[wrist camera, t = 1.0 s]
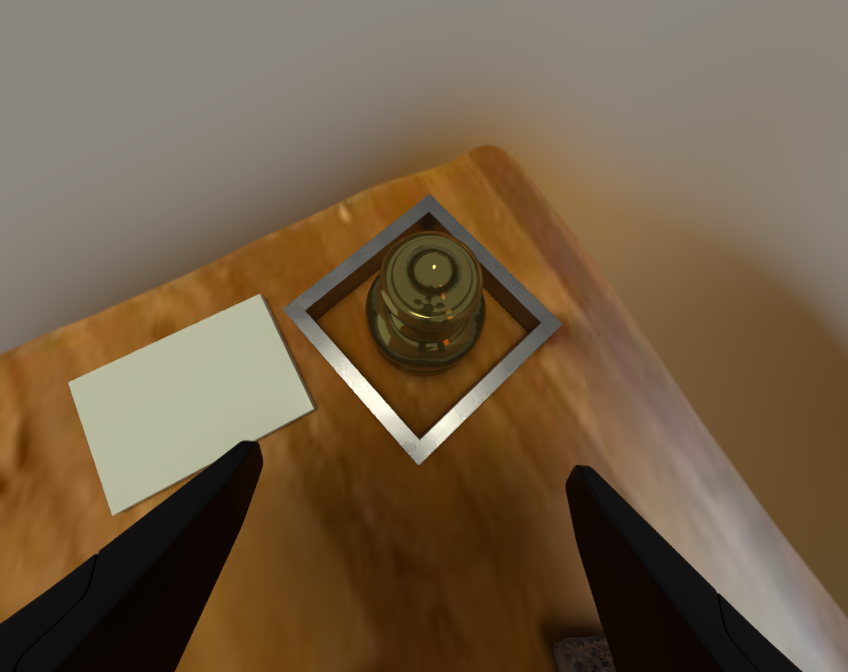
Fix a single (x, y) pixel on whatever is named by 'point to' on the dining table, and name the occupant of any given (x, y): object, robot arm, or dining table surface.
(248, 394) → the tile
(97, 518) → the dining table surface
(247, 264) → the dining table surface
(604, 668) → the perforated stone tool
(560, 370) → the dining table surface
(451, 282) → the brass rounded piece
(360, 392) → the grey square frame
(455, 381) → the dining table surface
